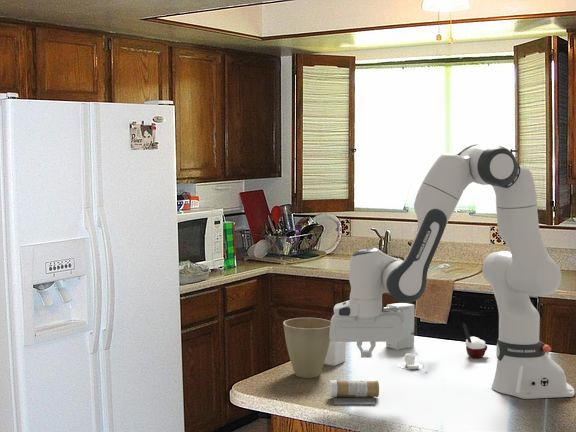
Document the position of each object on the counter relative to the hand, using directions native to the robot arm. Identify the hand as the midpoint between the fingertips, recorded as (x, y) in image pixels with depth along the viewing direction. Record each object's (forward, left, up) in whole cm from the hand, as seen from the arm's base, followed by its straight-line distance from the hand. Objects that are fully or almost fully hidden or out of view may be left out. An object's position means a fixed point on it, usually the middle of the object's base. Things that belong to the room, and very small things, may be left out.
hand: (366, 357), depth 231 cm
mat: (+3, -1, -11) cm, 12 cm away
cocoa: (-38, -45, -12) cm, 60 cm away
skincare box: (-15, -58, -12) cm, 61 cm away
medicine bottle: (+9, -37, -12) cm, 40 cm away
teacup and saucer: (-13, -31, -12) cm, 36 cm away
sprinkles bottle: (-4, +1, -9) cm, 9 cm away
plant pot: (+16, -22, -12) cm, 30 cm away
